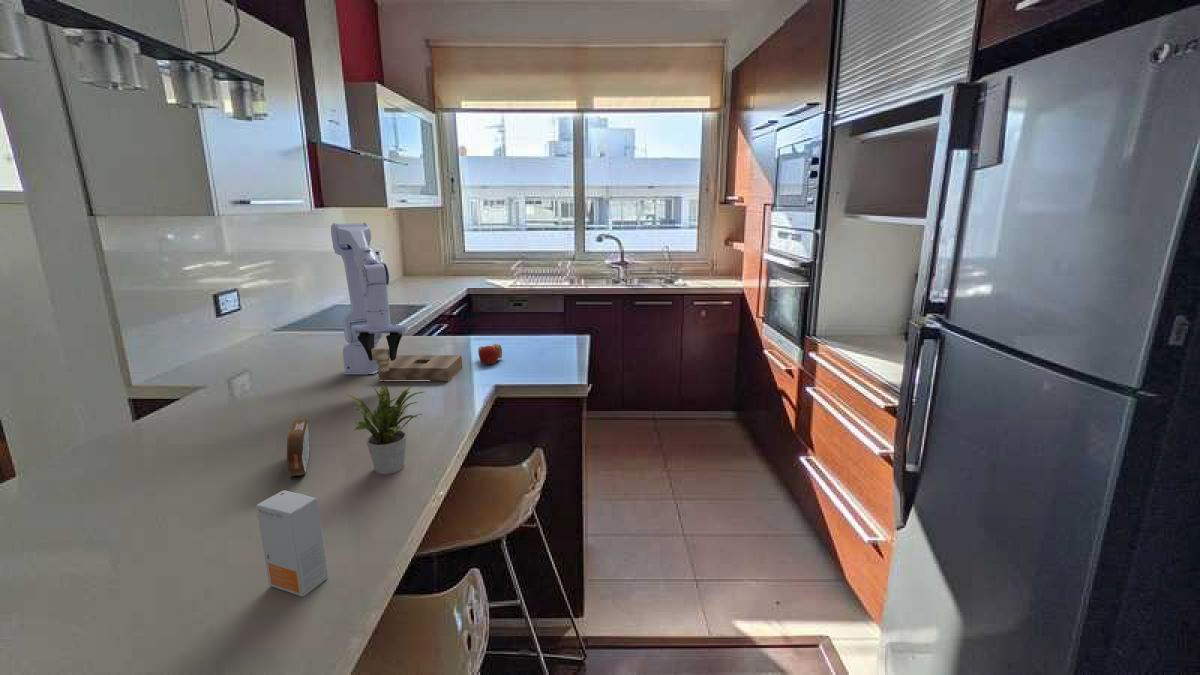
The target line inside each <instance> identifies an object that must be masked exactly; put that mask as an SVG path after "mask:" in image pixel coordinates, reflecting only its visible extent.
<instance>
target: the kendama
mask: <svg viewBox="0 0 1200 675" xmlns="http://www.w3.org/2000/svg"><path fill="white" fill-rule="evenodd" d="M477 352H478V357H479V360H480V362H481V363H482V364H484V365H486V364H487V366H490V365H489V364H491V365H493V364H496V362H497V361H498V359H501V358H502V357H503V349H502V346H501V344H499V343H494V344H492V345H485V346H479V347H478V351H477Z"/></svg>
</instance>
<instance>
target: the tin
mask: <svg viewBox="0 0 1200 675" xmlns="http://www.w3.org/2000/svg"><path fill="white" fill-rule="evenodd" d="M309 422H310V421H309V419H308V418H292V420H291V425H290V427H289V430H288V433H287V437H286V438H287V439H286V465H287V473H288V476H289V477H290V478H292V477H297V476H298V477H299V476H303V475H306V473H307V471H308V466H309V463H310V456H311V440H310V434H309V426H310V423H309Z"/></svg>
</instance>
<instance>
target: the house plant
mask: <svg viewBox="0 0 1200 675" xmlns="http://www.w3.org/2000/svg"><path fill="white" fill-rule="evenodd" d="M412 387H414V384H412V385H411V386H409V387H407V388H406V389H405V390H403V391H402V392H401V394H400V395H399V396H398V397H396V398H393V399H391V395H390V394H391V393H390V392H389V388H388V386H387V385H386V383H384V384H383V385H382V387H381V388H380V390H379V391H378V390H377V389H376V388H375V387H372V388H373V389H374V391H375V393H376V396H377V399H378V405H377V407H376V409H374V410H373V412H372V411H371V409H370V407H368V405H367V404H366V403H365V402H363V401H362V400H361V399H358V398H357V397H355V396H353V395H349V394H348V395H346V396H348V397H349V398H351V399H352V400H353V401H355V403H356V404H357V405H358V406H359V407H360V408H361V409H362V410H361V409H360V408H358V407H355V406H352V405H351V408H353V409H356V410H357V411H358V412H360V413H361V414H363V415H362V416H363V420H364V421H356V422H355V424H356V425H357V426H356V427H355V428H354V429H353V431H360V430H367V431H369V432H370V434H371V435H369V436H368V437H367V438H366V439H365V441H366V445H367V448H368V449H367V450H368V453H369V454H370V458H371V462H372V465H373V468H374V471H375V473H377V474H381V475H390V474H394V473H397V472H399V471H401V470H403V469H404V467H405V460H406V448H407V446H406V445H407V432H405V431H402V429H403V428H404V427H405V426H406V425H407V424H408V423H409V422H410V421H411V420H412V419H414V418H417V419H419V417H418V416H422V415H423V413H419V414H418V413H417V414H415V415H414V414H408V415H405V416H402V415H403V414H405V413H404V410H405V409H406V408H407V407H409V406H410V405H413V404H417V403H419V402H416V401H413V402H410V403H408V404H405V403H406V401H408V400H409V399H410V398H412V397H413V396H416V395H419V394H423V393H425V391H418V392H415V393H412V394H410V395H408V394H409V393H411V391H409V390H410V389H412ZM407 395H408V396H407ZM395 400H396V401H395ZM393 401H395V403H394V405H392V406H391V403H392V402H393ZM401 416H402V417H401ZM400 417H401V418H400ZM406 419H408V420H407V421H406V422H405V423H404V424H403V425H402V426H401V425H399V424H400V423H401V422H403V421H404V420H406Z"/></svg>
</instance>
